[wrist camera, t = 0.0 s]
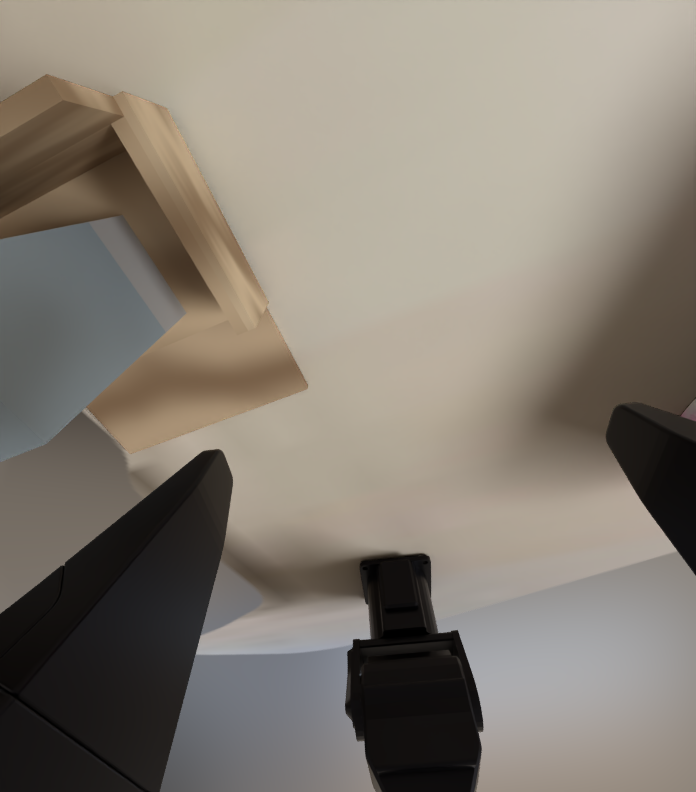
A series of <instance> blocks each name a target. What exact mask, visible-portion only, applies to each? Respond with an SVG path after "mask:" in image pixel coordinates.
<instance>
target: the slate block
mask: <svg viewBox="0 0 696 792" xmlns="http://www.w3.org/2000/svg"><path fill="white" fill-rule="evenodd" d="M185 314H186V311H185V310H184V308H183V307H182V305H181V304H180V302H179V301H178V299H177V298H176V296H175V294H174V293H173V291H172V290H171V288H170V287H169V285H168V284H167V282H166V281H165V279H164V278H163V276H162V275H161V273H160V271H159V270H158V268H157V267H156V265H155V264H154V262H153V261H152V259H151V258H150V256H149V255H148V253H147V252H146V250H145V248H144V247H143V245H142V244H141V242H140V241H139V239H138V238H137V236H136V235H135V233H134V232H133V230H132V229H131V227H130V225H129V224H128V222H127V221H126V219H125V218H124V216H123V215H121V216H116V217H111V218H106V219H100V220H95V221H90V222H85V223H80V224H75V225H70V226H65V227H60V228H55V229H50V230H45V231H40V232H35V233H30V234H25V235H19V236H14V237H9V238H4V239H0V462H1V461H4V460H6V459H9V458H11V457H14V456H17V455H19V454H22V453H24V452H27V451H29V450H32V449H34V448H37V447H40V446H42V445H45V444H47V443H48V442H49V441H50V440H51V439H52V438H53V437H54V436H55V435H56V434H57V433H58V432H60V431H61V430H62V429H63V428H64V427H65V426H66V425H67V424H68V423H69V422H70V421H71V420H72V419H73V418H74V417H76V416H77V415H78V414H79V413H80V412H81V411H82V410H83V409H84V408H85V407H86V406H88V405H89V404H90V403H91V402H92V401H93V400H94V399H95V398H96V397H97V396H98V395H99V394H100V393H101V392H103V391H104V390H105V389H106V388H107V387H108V386H109V385H110V384H111V383H112V382H113V381H114V380H115V379H117V378H118V377H119V376H120V375H121V374H122V373H123V372H124V371H125V370H126V369H127V368H128V367H129V366H131V365H132V364H133V363H134V362H135V361H136V360H137V359H138V358H139V357H140V356H141V355H142V354H143V353H144V352H146V351H147V350H148V349H149V348H150V347H151V346H152V345H153V344H154V343H155V342H156V341H157V340H158V339H160V338H161V337H162V336H163V335H164V334H165V333H166V332H167V331H168V330H169V329H170V328H171V327H172V326H174V325H175V324H176V323H177V322H178V321H179V320H180V319H181V318H182V317H183V316H184V315H185Z"/></svg>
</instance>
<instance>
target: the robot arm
mask: <svg viewBox="0 0 696 792" xmlns="http://www.w3.org/2000/svg"><path fill="white" fill-rule="evenodd" d="M606 441H607V444H608V446H609V447H610V449H611V451H612V453H613V454H614V456H615V458H616V459H617V461H618V463H619V464H620V466H621V468H622V470H623V471H624V473H625V475H626V476H627V478H628V480H629V481H630V483H631V485H632V487H633V488H634V490H635V492H636V493H637V495H638V496H639V498H640V500H641V501H642V503H643V504H644V506H645V507H646V509H647V510H648V511H649V513H650V514H651V515H652V517H653V518H654V520H655V521H656V522H657V524H658V525H659V526H660V528H661V529H662V530H663V532H664V533H665V535H666V536H667V537H668V539H669V540H670V541H671V543H672V544H673V545H674V547H675V548H676V549H677V551H678V552H679V554H680V555H681V556H682V558H683V559H684V560H685V562H686V563H687V564H688V566H689V567H690V568H691V570H692V571H693V573H694V574H695V575H696V421H693V420H690V419H687V418H684V417H681V416H678V415H675V414H672V413H669V412H666V411H663V410H660V409H657V408H654V407H651V406H648V405H644V404H641V403H636V402H634V403H625V404H619V405H617V406H616V407H615V408H614V409H613V412H612V415H611V418H610V422H609V425H608V428H607V432H606ZM232 487H233V477H232V474H231V471H230V468H229V466H228V463H227V461H226V458H225V455H224V453H223V452H222V451H221V450H219V449H215V450H206V451H203V452H201V453H200V454H199V455H197V456H196V457H195V458H194V459H192V460H191V461H190V462H189V463H188V464H186V465H185V466H184V467H183V468H181V469H180V470H179V471H178V472H176V473H175V474H174V475H173V476H171V477H170V478H169V479H168V480H167V481H165V482H164V483H163V484H162V485H160V486H159V487H158V488H157V489H155V490H154V491H153V492H152V493H150V494H149V495H148V496H147V497H146V498H144V499H143V500H142V501H141V502H139V503H138V504H137V505H136V506H134V507H133V508H132V509H131V510H129V511H128V512H127V513H126V514H125V515H123V516H122V517H121V518H120V519H118V520H117V521H116V522H115V523H114V524H112V525H111V526H110V527H108V528H107V529H106V530H105V531H104V532H102V533H101V534H100V535H99V536H97V537H96V538H95V539H94V540H92V541H91V542H90V543H89V544H88V545H86V546H85V547H84V548H82V549H81V550H80V551H79V552H78V553H76V554H75V555H74V556H73V557H71V558H70V559H69V560H68V561H67V562H65V566H60V567H59V568H58V569H57V570H55V571H54V572H53V573H52V574H51V575H49V576H48V577H47V578H46V579H44V580H43V581H42V582H40V584H38V585H37V586H35V587H34V588H33V589H32V590H30V591H29V592H28V593H27V594H25V595H24V596H23V597H21V598H20V599H19V600H18V601H16V602H15V603H14V604H12V605H11V606H10V607H9V608H7V609H6V610H5V611H3V612H2V613H1V614H0V792H160V788H161V784H162V780H163V776H164V772H165V769H166V765H167V761H168V757H169V753H170V750H171V746H172V742H173V738H174V734H175V730H176V727H177V722H178V719H179V715H180V711H181V708H182V704H183V699H184V696H185V692H186V689H187V685H188V681H189V677H190V673H191V669H192V666H193V661H194V658H195V654H196V650H197V647H198V643H199V639H200V635H201V631H202V627H203V623H204V620H205V616H206V612H207V608H208V604H209V600H210V597H211V593H212V589H213V585H214V581H215V578H216V574H217V570H218V566H219V562H220V559H221V555H222V551H223V546H224V541H225V536H226V529H227V522H228V515H229V508H230V501H231V494H232ZM360 573H361V578H362V584H363V590H364V596H365V602H366V604H368V607H369V621H370V635H371V639H368V640H360V639H353V648H352V649H351V650H349V651H348V652H347V656H348V677H347V690H346V701H345V710H346V714H347V715H348V717H349V718H350V719H351V720H352V722H353V728H355V732H356V739H357V741H365V754H366V760H367V764H368V768H369V772H370V776H371V780H372V784H373V787H374V789H375V791H376V792H476V789H477V783H478V777H479V769H480V760H481V750H482V748H481V742H480V738H479V733H478V732H483V718H482V711H481V706H480V701H479V696H478V692H477V688H476V684H475V681H474V678H473V674H472V671H471V668H470V665H469V662H468V660H467V657H466V653H465V651H464V648H463V645H462V642H461V639H460V636H459V633H458V630H455V631H451V632H447V633H438V629H437V625H436V620H435V615H434V611H433V606H432V602H431V561H430V557H429V556H426V555H424V556H413V557H403V558H393V559H382V560H372V561H363V562H361V563H360Z"/></svg>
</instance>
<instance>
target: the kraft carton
mask: <svg viewBox="0 0 696 792" xmlns="http://www.w3.org/2000/svg"><path fill="white" fill-rule="evenodd" d="M121 215H123V216H124V218H125V219H126V221H127V222H128V224H129V225H130V227H131V229H132V230H133V232H134V233H135V235H136V236H137V238H138V239H139V241H140V242H141V244H142V245H143V247H144V248H145V250H146V252H147V253H148V255H149V256H150V258H151V259H152V261H153V262H154V264H155V265H156V267H157V268H158V270H159V271H160V273H161V275H162V276H163V278H164V279H165V281H166V282H167V284H168V285H169V287H170V288H171V290H172V291H173V293H174V294H175V296H176V298H177V299H178V301H179V302H180V304H181V305H182V307H183V308H184V310H185V311H186V314H185V315H184V316H183V317H182V318H181V319H180V320H179V321H178V322H177V323H176V324H175V325H174V326H172V327H171V328H170V329H169V330H168V331H167V332H166V333H165V334H164V335H163V336H162V337H161V338H160V339H158V340H157V341H156V342H155V343H154V344H153V345H152V346H151V347H150V348H149V349H148V350H147V351H146V352H144V353H143V354H142V355H141V356H140V357H139V358H138V359H137V360H136V361H135V362H134V363H133V364H132V365H131V366H129V367H128V368H127V369H126V370H125V371H124V372H123V373H122V374H121V375H120V376H119V377H118V378H117V379H115V380H114V381H113V382H112V383H111V384H110V385H109V386H108V387H107V388H106V389H105V390H104V391H103V392H101V393H100V394H99V395H98V396H97V397H96V398H95V399H94V400H93V401H92V402H91V403H90V404H89V405H88V406H86V407H87V408H88V409H89V410H90V411H91V412H92V413H93V415H94V416H95V417H96V418H97V419H98V420H99V421H100V422H101V423H102V424H103V425H104V426H105V428H106V429H107V430H108V431H109V432H110V433H111V434H112V435H113V436H114V437H115V438H116V439H117V440H118V442H119V443H120V444H121V445H122V446H123V447H124V448H125V449H126V450H127V451H128V452H129V453H130V454H132V453H135V452H138V451H140V450H143V449H146V448H149V447H151V446H154V445H157V444H159V443H162V442H165V441H168V440H170V439H173V438H176V437H178V436H181V435H184V434H187V433H189V432H192V431H195V430H197V429H200V428H203V427H206V426H208V425H211V424H214V423H216V422H219V421H222V420H225V419H227V418H230V417H233V416H235V415H238V414H241V413H244V412H246V411H249V410H252V409H254V408H257V407H260V406H263V405H265V404H268V403H271V402H274V401H276V400H279V399H282V398H284V397H287V396H290V395H293V394H295V393H298V392H301V391H303V390H306V389H307V388H308V384H307V382H306V381H305V379H304V377H303V375H302V373H301V371H300V369H299V367H298V366H297V364H296V362H295V360H294V358H293V356H292V354H291V352H290V350H289V349H288V347H287V345H286V343H285V341H284V339H283V337H282V335H281V333H280V332H279V330H278V328H277V326H276V324H275V322H274V320H273V318H272V317H271V315H270V313H269V311H268V309H267V305H268V303H269V302H268V300H267V298H266V296H265V294H264V292H263V290H262V289H261V287H260V285H259V283H258V281H257V279H256V277H255V275H254V273H253V271H252V269H251V268H250V266H249V264H248V262H247V260H246V258H245V256H244V254H243V252H242V250H241V248H240V247H239V245H238V243H237V241H236V239H235V237H234V235H233V233H232V231H231V229H230V227H229V226H228V224H227V222H226V220H225V218H224V216H223V214H222V212H221V210H220V208H219V206H218V205H217V203H216V201H215V199H214V197H213V195H212V193H211V191H210V189H209V187H208V185H207V184H206V182H205V180H204V178H203V176H202V174H201V172H200V170H199V168H198V166H197V164H196V163H195V161H194V159H193V157H192V155H191V153H190V151H189V149H188V147H187V145H186V143H185V142H184V140H183V138H182V136H181V134H180V132H179V130H178V128H177V126H176V124H175V122H174V121H173V119H172V117H171V115H170V113H169V111H168V109H167V108H165V107H162V106H160V105H157V104H155V103H152V102H149V101H147V100H144V99H141V98H139V97H136V96H133V95H131V94H128V93H125V92H123V91H122V92H120V93H119V94H117V95H115V96H113V97H112V96H110V95H107V94H104V93H101V92H98V91H95V90H92V89H89V88H86V87H83V86H80V85H77V84H74V83H71V82H68V81H65V80H62V79H59V78H56V77H53V76H50V75H47V74H46V75H45V76H43V77H41V78H40V79H38V80H36V81H35V82H33V83H32V84H30V85H28V86H27V87H25V88H23V89H22V90H20V91H19V92H17V93H15V94H14V95H12V96H10V97H9V98H7V99H6V100H4V101H2V102H1V103H0V239H4V238H9V237H14V236H19V235H25V234H30V233H35V232H40V231H45V230H50V229H55V228H60V227H65V226H70V225H75V224H80V223H85V222H90V221H95V220H100V219H106V218H111V217H116V216H121Z"/></svg>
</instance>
